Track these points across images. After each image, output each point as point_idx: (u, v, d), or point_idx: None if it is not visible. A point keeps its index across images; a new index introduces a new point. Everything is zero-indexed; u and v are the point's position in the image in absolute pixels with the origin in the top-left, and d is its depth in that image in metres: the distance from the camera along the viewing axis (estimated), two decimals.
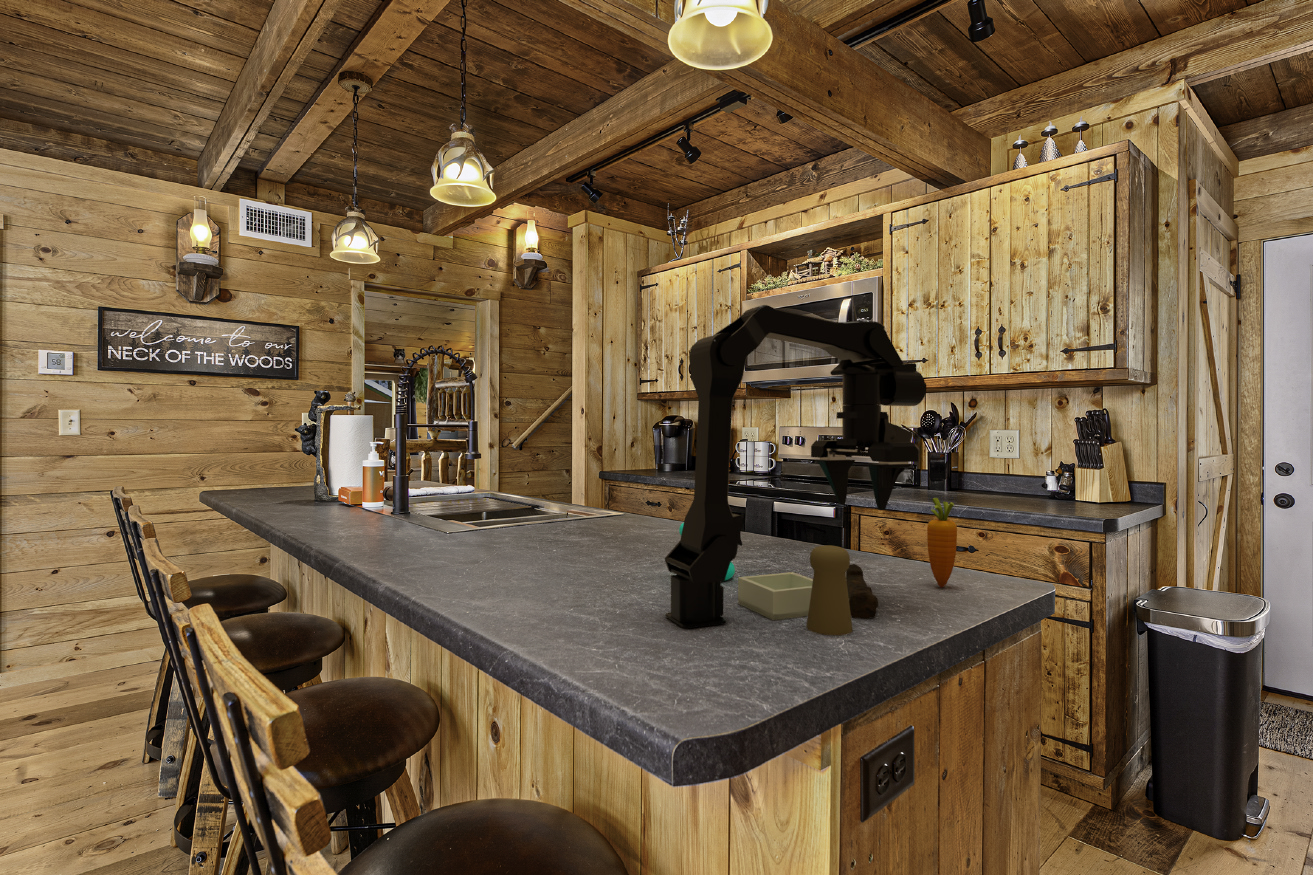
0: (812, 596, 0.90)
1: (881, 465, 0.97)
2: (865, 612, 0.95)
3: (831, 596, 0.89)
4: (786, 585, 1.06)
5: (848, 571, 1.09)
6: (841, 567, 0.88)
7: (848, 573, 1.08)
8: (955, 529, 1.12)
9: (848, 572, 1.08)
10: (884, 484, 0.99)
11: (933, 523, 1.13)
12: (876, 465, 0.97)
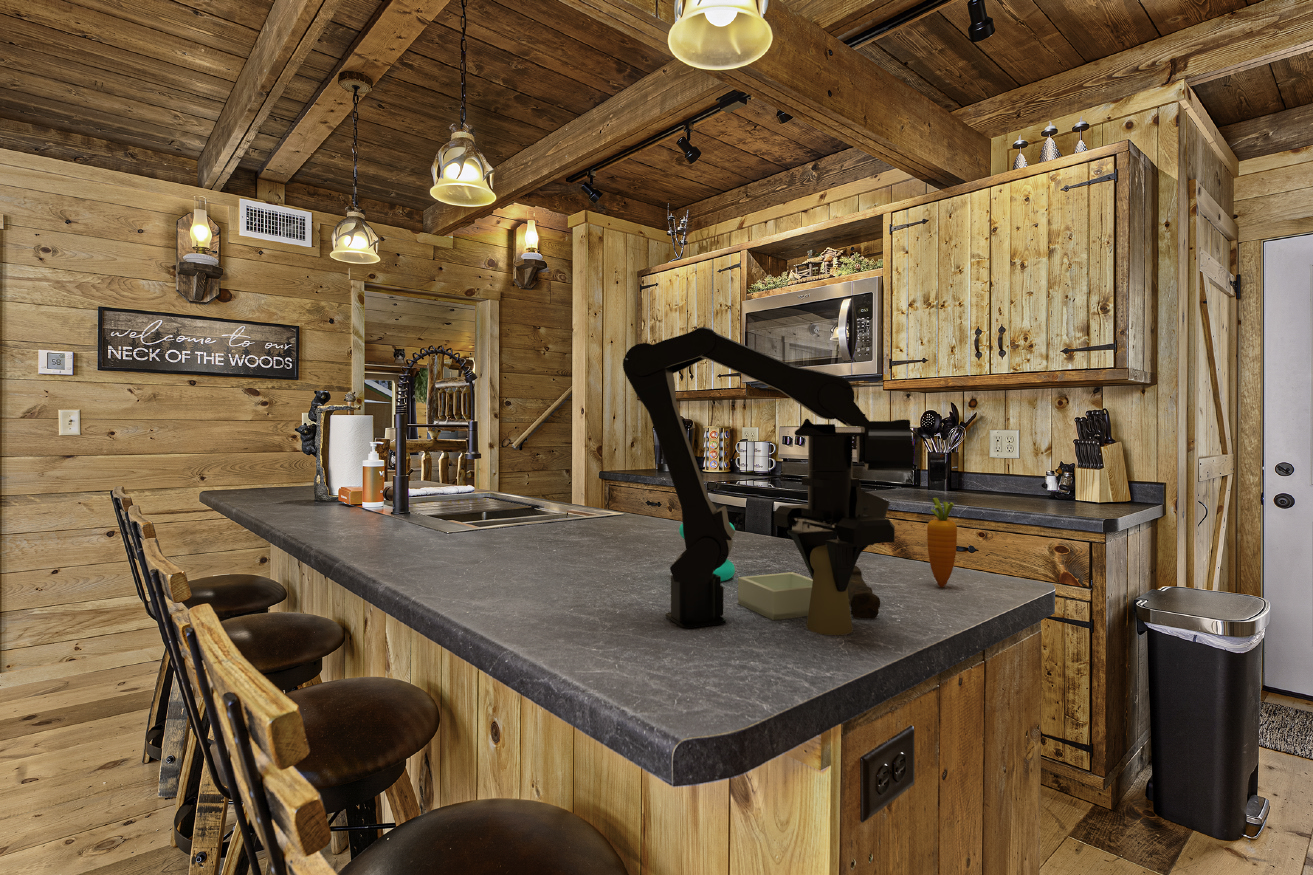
0: (812, 596, 0.90)
1: (839, 544, 0.84)
2: (867, 612, 0.95)
3: (831, 596, 0.88)
4: (786, 585, 1.06)
5: None
6: None
7: None
8: (955, 529, 1.12)
9: None
10: (844, 563, 0.87)
11: (933, 523, 1.13)
12: (834, 544, 0.85)
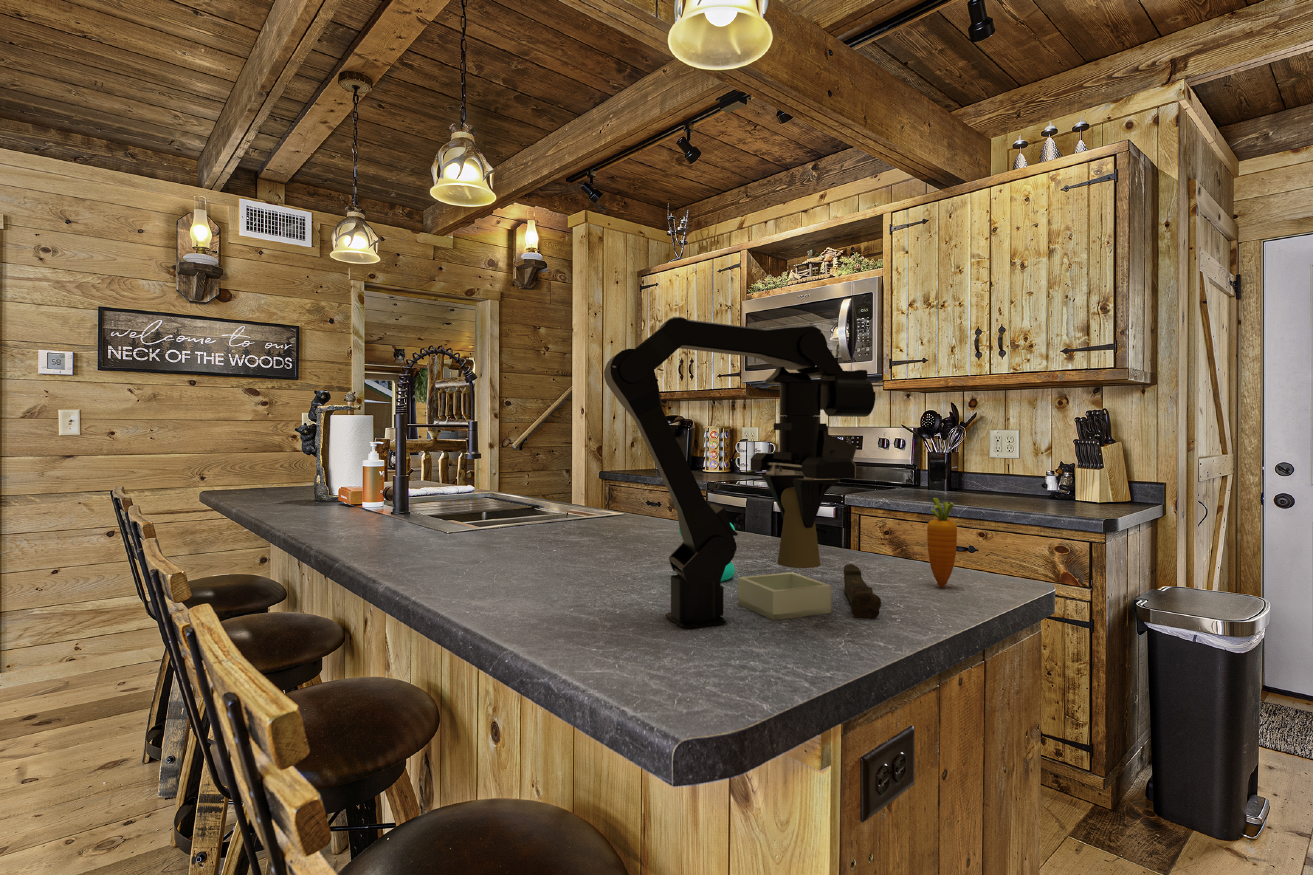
0: (782, 533, 0.97)
1: (804, 481, 0.91)
2: (868, 612, 0.95)
3: (799, 532, 0.95)
4: (786, 585, 1.06)
5: (846, 571, 1.09)
6: None
7: (846, 573, 1.08)
8: (955, 529, 1.12)
9: (846, 572, 1.08)
10: (810, 501, 0.94)
11: (933, 523, 1.13)
12: (799, 481, 0.92)
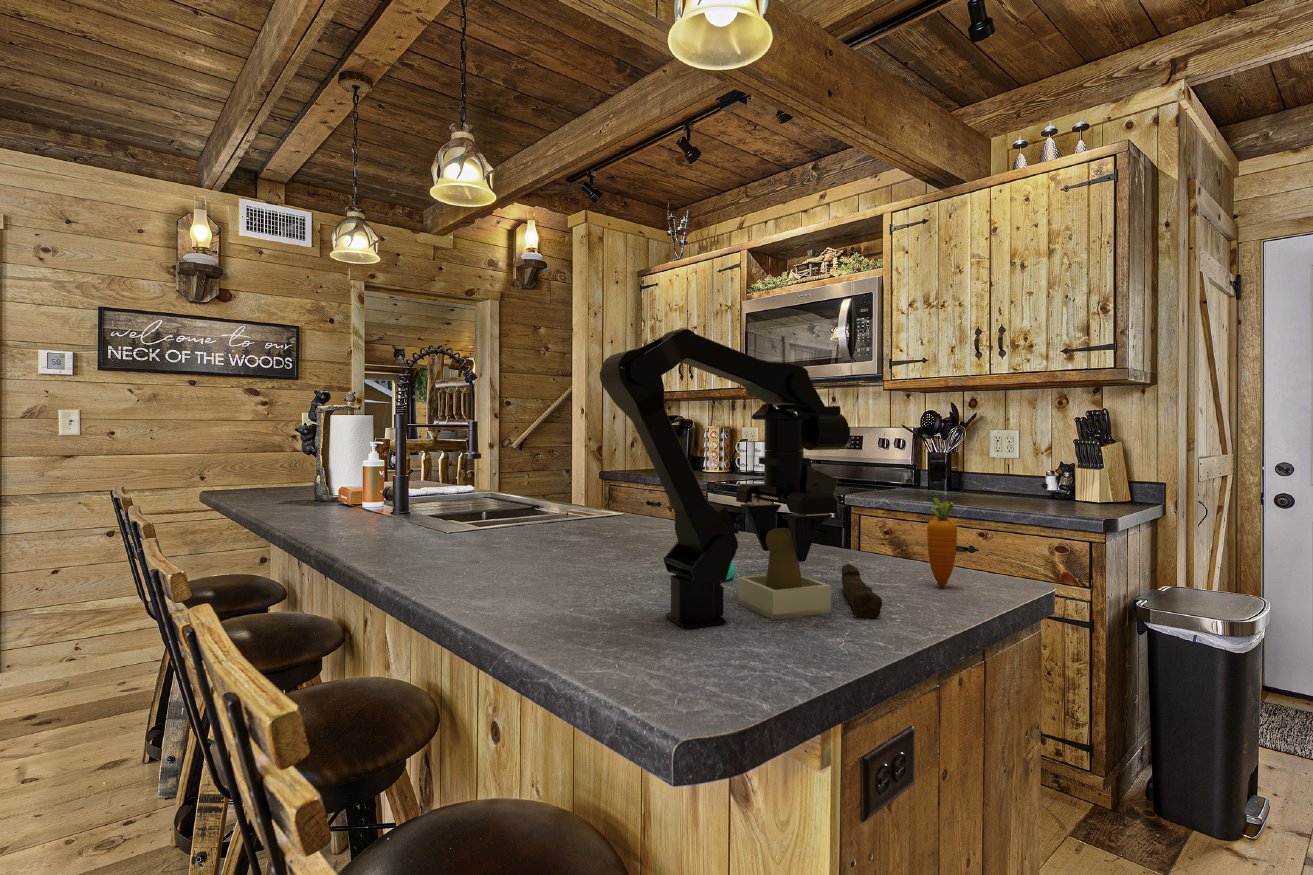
0: (768, 573, 1.00)
1: (798, 517, 0.93)
2: (869, 613, 0.95)
3: (784, 573, 0.99)
4: None
5: (845, 571, 1.09)
6: (793, 547, 0.99)
7: (845, 573, 1.08)
8: (955, 529, 1.12)
9: (845, 573, 1.08)
10: (803, 535, 0.95)
11: (933, 523, 1.13)
12: (793, 517, 0.93)
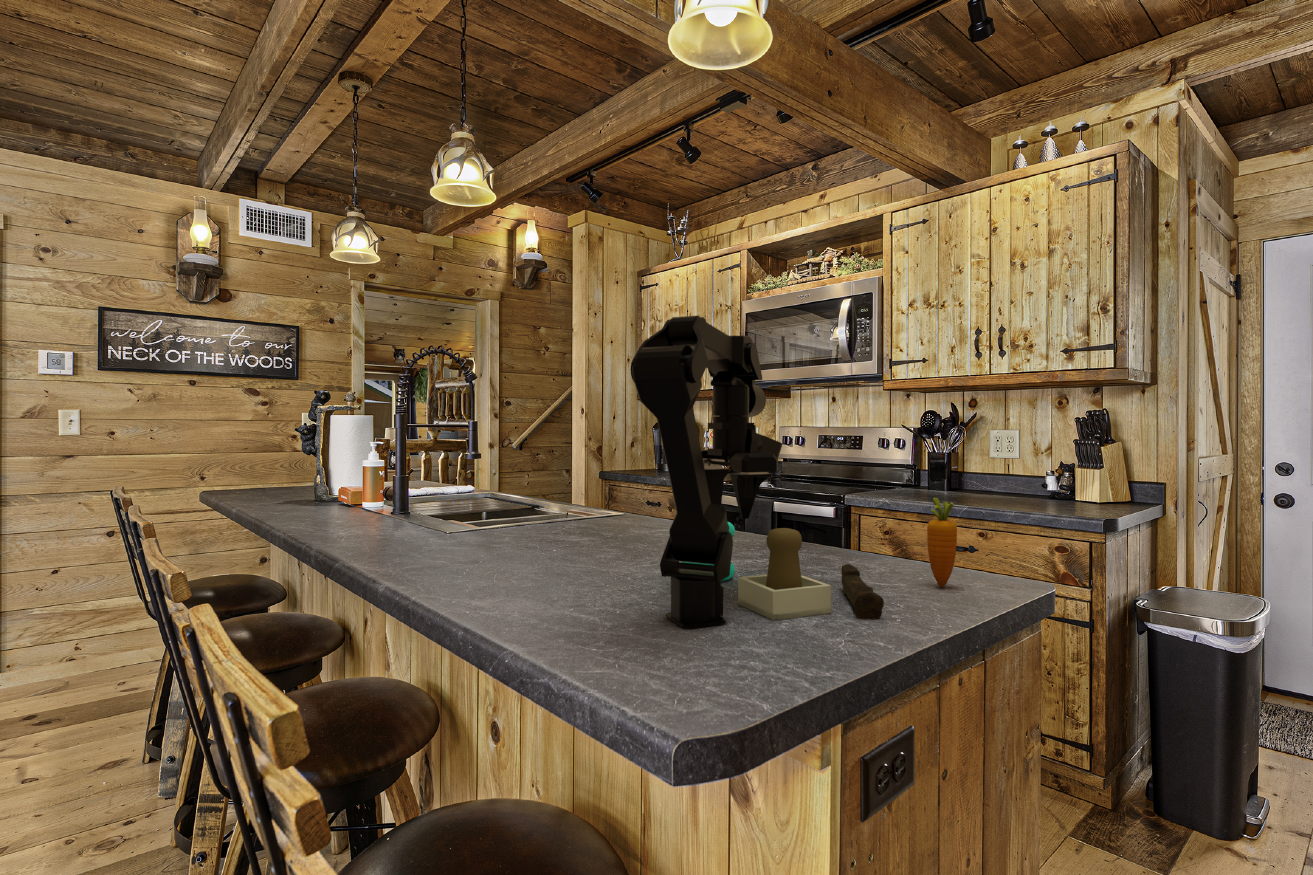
0: (768, 573, 1.01)
1: (739, 475, 0.99)
2: (871, 613, 0.95)
3: (784, 573, 0.99)
4: None
5: (845, 571, 1.09)
6: (793, 546, 0.99)
7: (845, 573, 1.08)
8: (955, 529, 1.12)
9: (845, 572, 1.08)
10: (746, 494, 1.02)
11: (933, 523, 1.13)
12: (735, 476, 1.00)
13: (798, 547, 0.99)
